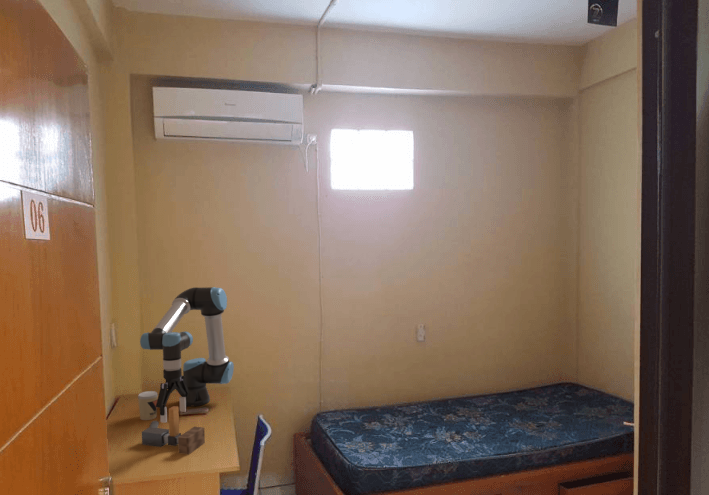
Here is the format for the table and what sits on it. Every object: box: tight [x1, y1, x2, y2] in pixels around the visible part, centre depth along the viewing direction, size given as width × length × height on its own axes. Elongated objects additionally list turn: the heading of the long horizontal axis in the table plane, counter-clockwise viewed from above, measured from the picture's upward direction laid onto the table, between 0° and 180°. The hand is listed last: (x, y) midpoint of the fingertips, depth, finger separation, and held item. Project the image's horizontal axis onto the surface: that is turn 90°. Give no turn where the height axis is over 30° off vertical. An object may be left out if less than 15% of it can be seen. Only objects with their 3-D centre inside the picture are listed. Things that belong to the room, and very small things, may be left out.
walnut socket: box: [178, 426, 206, 456], centre depth 232 cm, size 12×5×7 cm, turn 163°
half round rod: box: [149, 420, 160, 428], centre depth 252 cm, size 4×20×2 cm, turn 14°
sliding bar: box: [162, 405, 182, 447], centre depth 236 cm, size 4×20×16 cm, turn 73°
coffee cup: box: [137, 390, 159, 421], centre depth 269 cm, size 9×9×12 cm
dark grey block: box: [141, 426, 169, 448], centre depth 237 cm, size 6×10×6 cm, turn 73°
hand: (173, 416), depth 234 cm, fingers open, 13 cm apart
